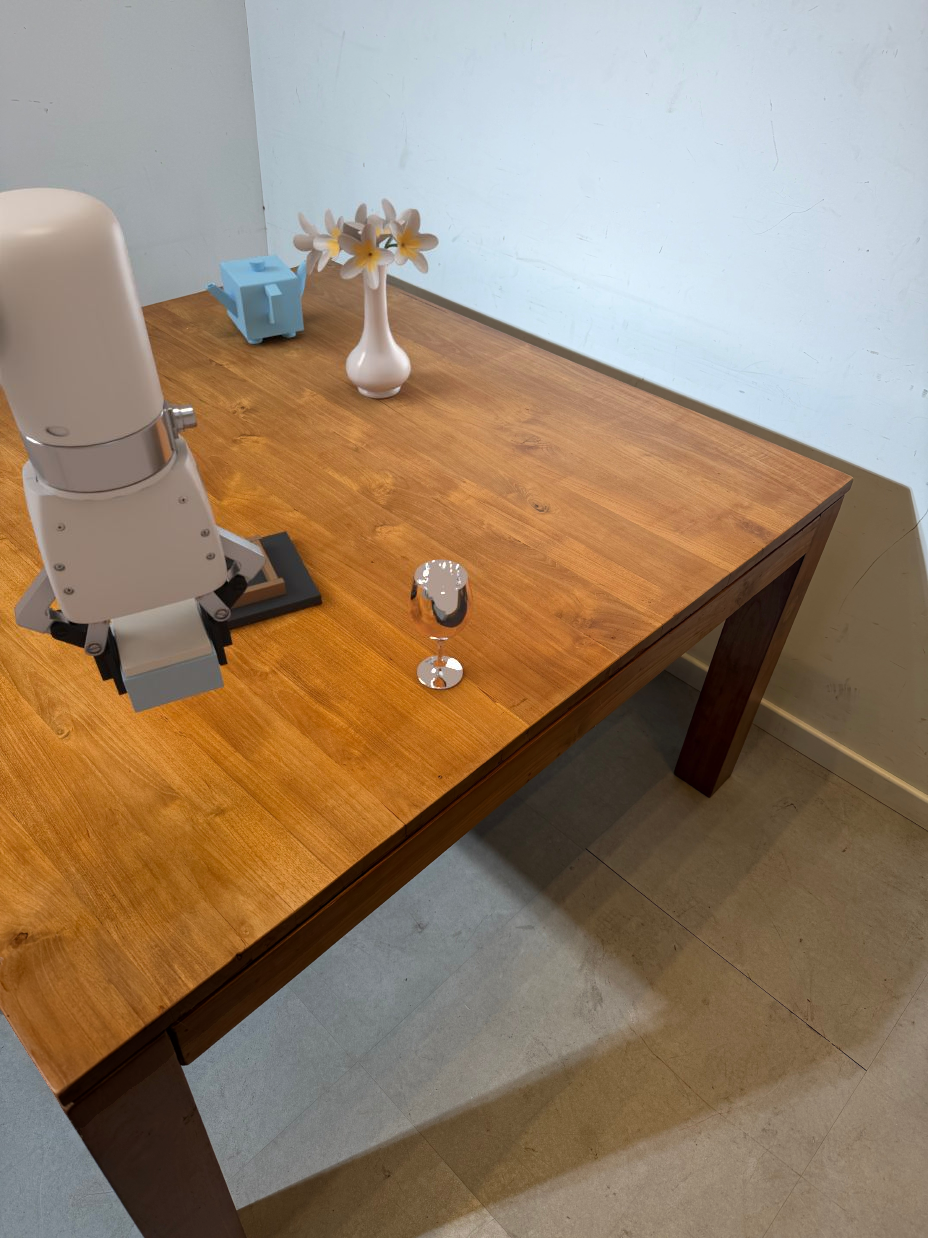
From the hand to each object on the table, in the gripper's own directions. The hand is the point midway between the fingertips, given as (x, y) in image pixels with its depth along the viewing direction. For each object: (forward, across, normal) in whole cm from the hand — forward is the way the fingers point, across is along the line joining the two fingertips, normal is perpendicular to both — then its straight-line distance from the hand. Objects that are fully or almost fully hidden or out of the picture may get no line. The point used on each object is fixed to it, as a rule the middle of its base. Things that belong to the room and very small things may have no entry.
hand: (170, 664), depth 58 cm
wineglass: (+16, -23, -5) cm, 28 cm away
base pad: (+16, -8, -25) cm, 30 cm away
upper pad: (+1, 0, 0) cm, 1 cm away
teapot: (+16, -29, -85) cm, 91 cm away
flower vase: (+16, -37, -60) cm, 73 cm away
